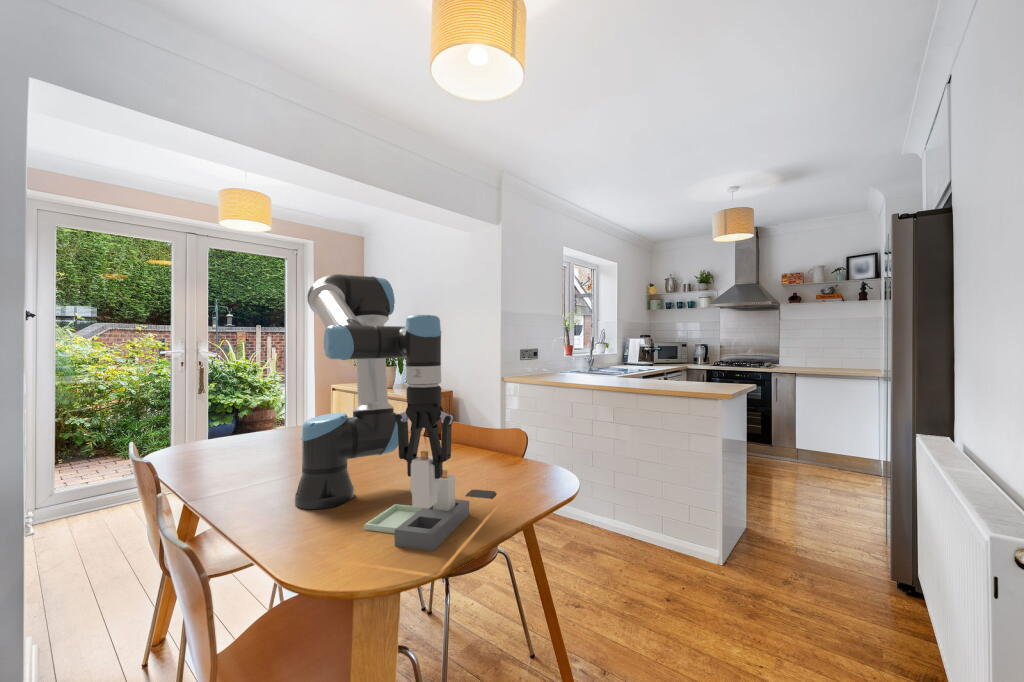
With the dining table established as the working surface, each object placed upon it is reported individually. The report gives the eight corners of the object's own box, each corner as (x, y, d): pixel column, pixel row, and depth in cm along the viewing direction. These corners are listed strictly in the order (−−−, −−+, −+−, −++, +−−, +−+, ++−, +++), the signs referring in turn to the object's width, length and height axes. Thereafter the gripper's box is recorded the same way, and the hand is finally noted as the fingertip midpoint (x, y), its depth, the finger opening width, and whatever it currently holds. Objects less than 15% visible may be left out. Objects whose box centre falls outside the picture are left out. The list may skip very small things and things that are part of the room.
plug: (412, 506, 94) (411, 453, 95) (421, 500, 98) (420, 449, 99) (429, 508, 93) (428, 454, 94) (437, 502, 97) (436, 450, 97)
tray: (364, 532, 101) (364, 524, 101) (395, 511, 114) (394, 504, 114) (400, 536, 98) (399, 528, 98) (427, 514, 111) (427, 507, 111)
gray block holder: (394, 548, 93) (394, 489, 93) (436, 513, 112) (436, 464, 112) (433, 553, 90) (433, 492, 90) (469, 516, 109) (469, 466, 109)
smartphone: (479, 515, 111) (496, 494, 127) (479, 511, 111) (496, 490, 127) (450, 512, 113) (471, 492, 129) (450, 509, 113) (471, 489, 129)
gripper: (380, 386, 95) (381, 494, 95) (452, 387, 90) (454, 501, 90) (398, 383, 102) (399, 484, 102) (466, 384, 98) (467, 489, 97)
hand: (425, 491), depth 96 cm, fingers closed on plug, 4 cm apart
